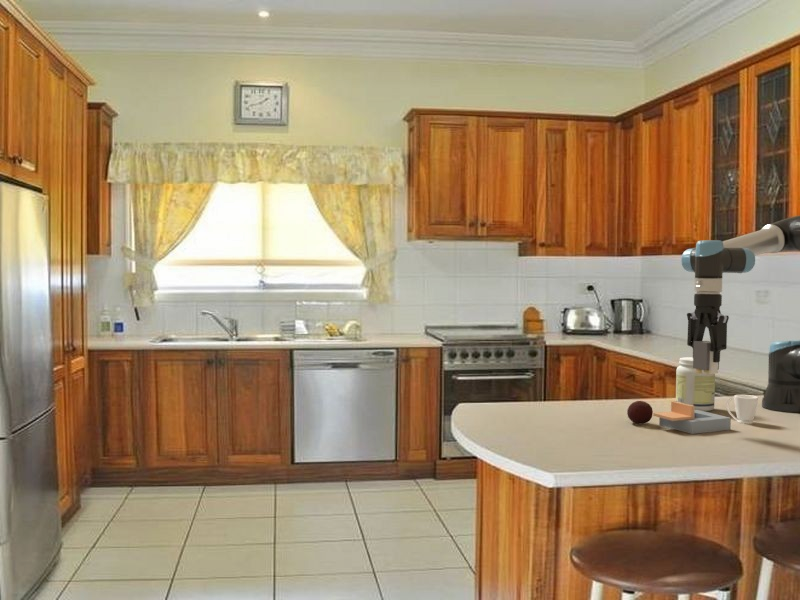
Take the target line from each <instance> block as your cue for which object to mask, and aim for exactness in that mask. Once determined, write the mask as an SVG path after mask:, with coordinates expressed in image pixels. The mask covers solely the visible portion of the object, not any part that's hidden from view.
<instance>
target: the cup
mask: <svg viewBox="0 0 800 600" xmlns="http://www.w3.org/2000/svg"><path fill="white" fill-rule="evenodd" d="M731 400H734V401H733V402H734V408H735V409H734V410H735V414H736V416H735V415H734V414H733V413H732V412H731V409H730V403H731ZM758 400H759V396H756V395H753V394H751V395H750V394H735V395H733V397H732V396H731V397H729V399H727V403H726V410H727V412H728V414H729V415H730V416H731V417H732V418H733V420H735V421H737V423H739V422H740V424H744V423H746V424H747V425H748V424H749V425H750V424H751V425H752V424H753V423H754V421H753V420H754V418H755V415H756V413H757V412H756V411H757V406H758Z"/></svg>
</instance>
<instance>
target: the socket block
mask: <svg viewBox="0 0 800 600" xmlns="http://www.w3.org/2000/svg"><path fill="white" fill-rule="evenodd" d="M731 424H732V418H731V417H728V416H725V415H720V414H717V413H712V412H709V411H705V412H704V411H700V410H694V419H688V420H678V421H671V420H667V419H664V418H660V417H659V426H662V427H666V428H668V429H674V430H676V431H680V432H684V433H687V434H690V435H691V434H692V435H694V434H702V433H703V434H704V433H711V432H719V431H730V430H731Z"/></svg>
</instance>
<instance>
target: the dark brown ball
mask: <svg viewBox="0 0 800 600" xmlns="http://www.w3.org/2000/svg"><path fill="white" fill-rule="evenodd" d="M653 413H654V410H653V407H652V406H651V404H650V403H648V402H647V401H643V400H637V401H634V402H631V404H630V405H628V407H627V413H626V414H627V417H628V419H629V420H630V421H631V422H632V423H634V424H637V425H643V424H646V423H648V422H650V420H652V417H653Z"/></svg>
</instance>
